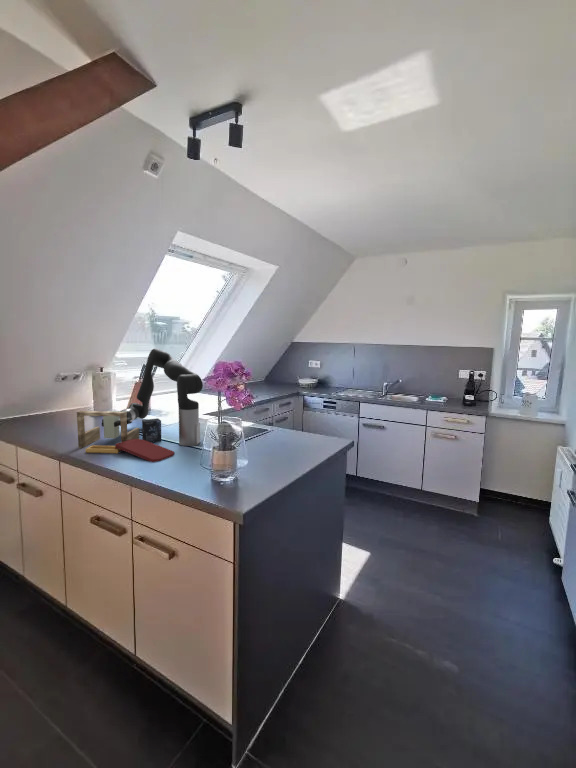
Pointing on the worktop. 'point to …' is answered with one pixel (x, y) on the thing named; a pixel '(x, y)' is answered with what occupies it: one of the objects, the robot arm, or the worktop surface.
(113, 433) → the block
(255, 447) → the worktop surface
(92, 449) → the tray
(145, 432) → the box
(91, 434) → the tunnel
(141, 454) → the dark red bent panel
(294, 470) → the worktop surface
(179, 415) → the robot arm
